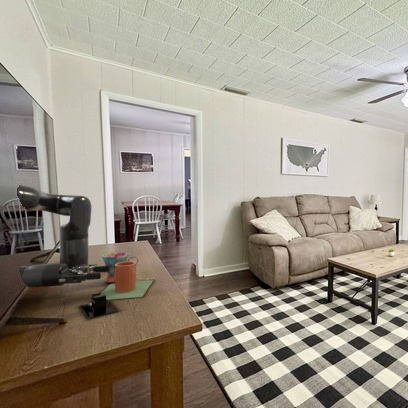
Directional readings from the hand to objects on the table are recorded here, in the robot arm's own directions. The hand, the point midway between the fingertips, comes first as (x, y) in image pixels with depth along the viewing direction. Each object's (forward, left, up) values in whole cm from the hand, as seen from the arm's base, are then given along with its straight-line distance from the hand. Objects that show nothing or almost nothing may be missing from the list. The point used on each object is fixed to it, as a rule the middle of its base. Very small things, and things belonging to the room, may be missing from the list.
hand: (105, 272), depth 102 cm
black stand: (+16, +3, -8) cm, 18 cm away
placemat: (0, +6, -7) cm, 10 cm away
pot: (0, +6, -7) cm, 10 cm away
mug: (-12, +1, -7) cm, 15 cm away
